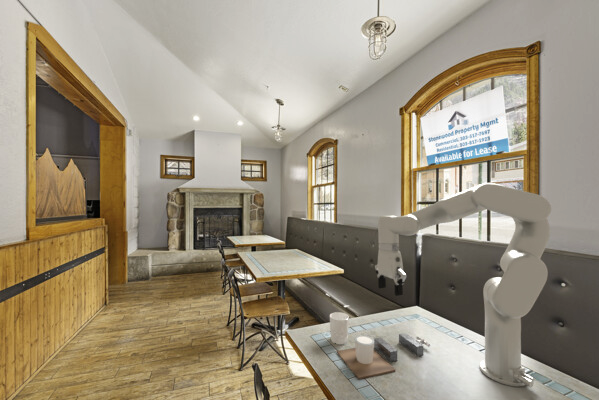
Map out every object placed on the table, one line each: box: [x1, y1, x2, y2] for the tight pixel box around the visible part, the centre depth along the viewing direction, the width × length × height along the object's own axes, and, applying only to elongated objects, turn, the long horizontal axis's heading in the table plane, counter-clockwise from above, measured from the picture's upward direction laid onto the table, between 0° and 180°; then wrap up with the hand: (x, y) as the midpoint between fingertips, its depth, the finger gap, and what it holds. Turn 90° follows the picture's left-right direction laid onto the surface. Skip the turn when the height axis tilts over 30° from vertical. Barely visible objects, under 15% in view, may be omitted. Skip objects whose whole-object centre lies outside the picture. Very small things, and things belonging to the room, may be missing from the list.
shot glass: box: [354, 334, 375, 364], centre depth 95 cm, size 7×7×7 cm
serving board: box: [336, 347, 396, 380], centre depth 95 cm, size 16×14×1 cm
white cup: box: [329, 311, 350, 345], centre depth 109 cm, size 8×8×10 cm
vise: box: [373, 332, 431, 363], centre depth 102 cm, size 10×20×4 cm, turn 108°
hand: (390, 291), depth 103 cm, fingers open, 9 cm apart
